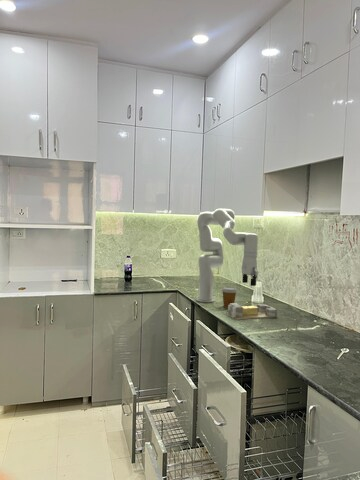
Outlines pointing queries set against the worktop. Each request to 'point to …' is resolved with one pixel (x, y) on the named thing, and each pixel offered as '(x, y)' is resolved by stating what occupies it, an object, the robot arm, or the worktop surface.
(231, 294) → the disposable coffee cup
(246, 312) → the brass tube
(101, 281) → the worktop surface
